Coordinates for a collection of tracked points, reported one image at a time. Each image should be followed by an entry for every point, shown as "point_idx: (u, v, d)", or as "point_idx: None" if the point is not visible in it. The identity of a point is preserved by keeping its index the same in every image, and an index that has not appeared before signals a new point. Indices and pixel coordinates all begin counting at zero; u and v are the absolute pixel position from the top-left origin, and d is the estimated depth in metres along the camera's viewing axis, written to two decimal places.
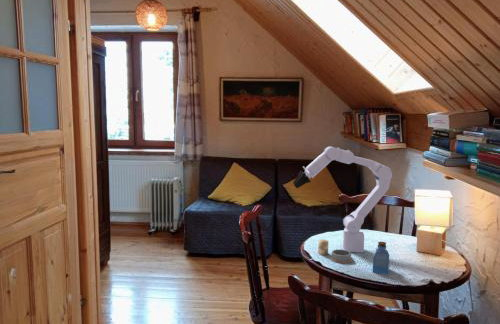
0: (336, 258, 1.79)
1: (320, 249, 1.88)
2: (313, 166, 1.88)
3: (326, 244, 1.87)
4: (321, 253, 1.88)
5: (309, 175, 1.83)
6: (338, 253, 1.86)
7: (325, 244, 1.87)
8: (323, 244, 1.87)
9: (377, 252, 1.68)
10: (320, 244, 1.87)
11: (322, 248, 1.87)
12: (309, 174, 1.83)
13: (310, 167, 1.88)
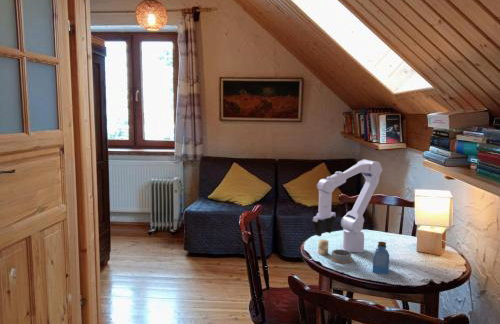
0: (336, 258, 1.79)
1: (320, 249, 1.88)
2: (319, 208, 1.86)
3: (326, 244, 1.87)
4: (321, 253, 1.88)
5: (314, 219, 1.82)
6: (338, 253, 1.86)
7: (325, 244, 1.87)
8: (323, 244, 1.87)
9: (377, 252, 1.68)
10: (320, 244, 1.87)
11: (322, 248, 1.87)
12: (314, 218, 1.83)
13: (318, 210, 1.87)
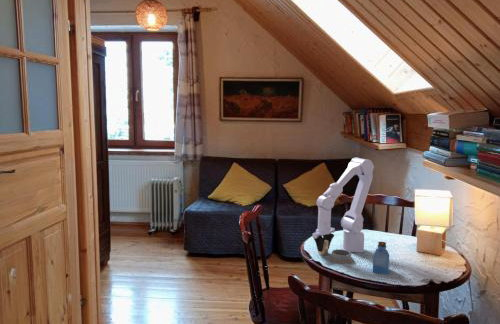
0: (336, 258, 1.79)
1: None
2: (318, 224, 1.87)
3: (326, 244, 1.87)
4: (321, 253, 1.88)
5: (314, 235, 1.83)
6: (338, 253, 1.86)
7: (325, 244, 1.87)
8: (323, 244, 1.87)
9: (377, 252, 1.68)
10: None
11: None
12: (313, 235, 1.84)
13: (318, 227, 1.88)
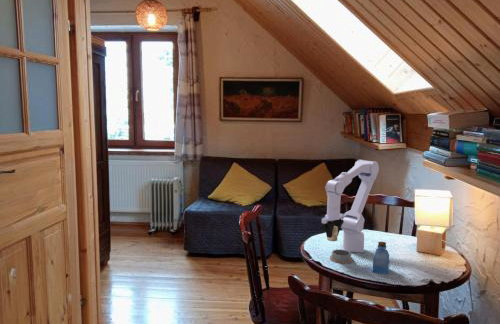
0: (336, 258, 1.79)
1: None
2: (327, 209, 1.83)
3: (335, 230, 1.83)
4: (330, 239, 1.83)
5: (323, 221, 1.79)
6: (338, 253, 1.86)
7: (334, 230, 1.82)
8: None
9: (377, 252, 1.68)
10: None
11: None
12: (322, 220, 1.79)
13: (327, 212, 1.83)
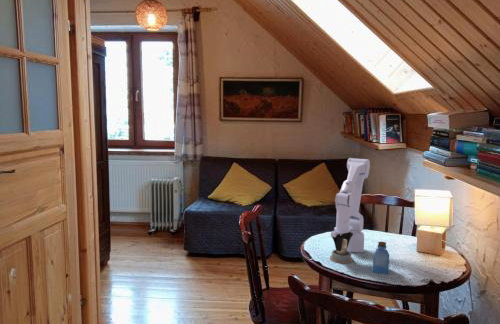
0: (336, 258, 1.79)
1: None
2: (337, 222, 1.79)
3: (345, 243, 1.80)
4: (339, 252, 1.80)
5: (332, 234, 1.76)
6: None
7: (343, 243, 1.79)
8: (342, 243, 1.79)
9: (377, 252, 1.68)
10: None
11: None
12: (332, 233, 1.76)
13: (336, 225, 1.80)
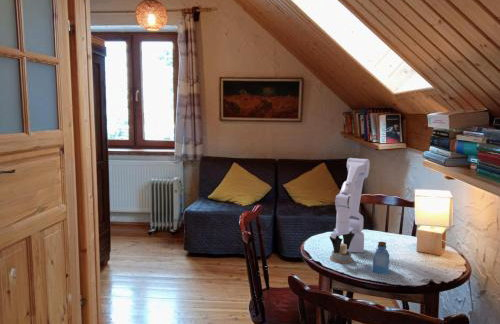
0: (336, 258, 1.79)
1: (338, 253, 1.80)
2: (337, 224, 1.79)
3: (345, 248, 1.80)
4: None
5: (332, 235, 1.76)
6: None
7: (343, 248, 1.80)
8: (342, 248, 1.79)
9: (377, 252, 1.68)
10: None
11: (340, 252, 1.80)
12: (332, 235, 1.76)
13: (336, 226, 1.80)
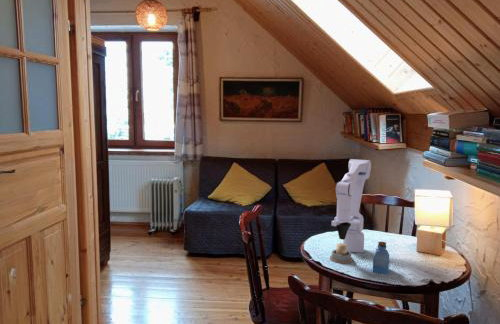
0: (336, 258, 1.79)
1: (338, 253, 1.80)
2: (337, 212, 1.79)
3: (345, 248, 1.80)
4: None
5: (333, 223, 1.75)
6: None
7: (343, 248, 1.80)
8: (342, 248, 1.79)
9: (377, 252, 1.68)
10: (338, 248, 1.80)
11: (340, 252, 1.80)
12: (332, 222, 1.75)
13: None
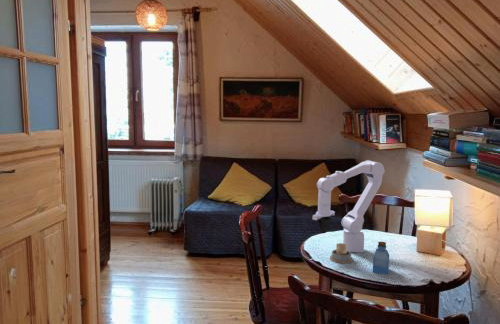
0: (336, 258, 1.79)
1: (338, 253, 1.80)
2: (318, 206, 1.88)
3: (345, 248, 1.80)
4: None
5: (314, 217, 1.84)
6: None
7: (343, 248, 1.80)
8: (342, 248, 1.79)
9: (377, 252, 1.68)
10: (338, 248, 1.80)
11: (340, 252, 1.80)
12: (313, 217, 1.85)
13: (318, 209, 1.89)
